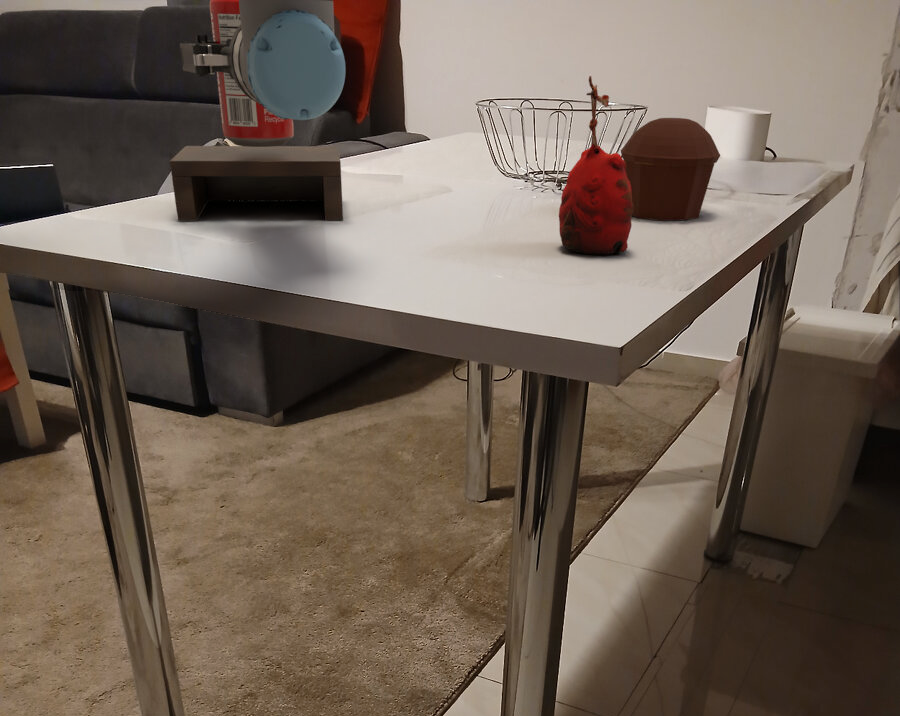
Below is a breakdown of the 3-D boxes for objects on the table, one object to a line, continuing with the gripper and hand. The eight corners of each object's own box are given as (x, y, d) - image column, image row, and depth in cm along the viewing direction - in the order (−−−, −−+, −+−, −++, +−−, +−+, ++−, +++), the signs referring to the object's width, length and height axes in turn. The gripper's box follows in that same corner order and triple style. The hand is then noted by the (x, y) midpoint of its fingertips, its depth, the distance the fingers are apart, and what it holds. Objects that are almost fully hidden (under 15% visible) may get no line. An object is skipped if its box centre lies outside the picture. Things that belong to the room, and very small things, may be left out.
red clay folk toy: (644, 253, 88) (666, 76, 80) (594, 261, 85) (612, 77, 77) (588, 239, 93) (604, 72, 85) (539, 247, 90) (550, 73, 82)
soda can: (226, 148, 97) (209, -20, 89) (221, 140, 104) (204, -17, 96) (299, 147, 99) (288, -17, 91) (289, 140, 106) (278, -15, 98)
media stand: (177, 221, 98) (169, 160, 95) (192, 200, 110) (185, 145, 107) (343, 220, 100) (340, 161, 97) (339, 199, 112) (337, 146, 109)
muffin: (692, 226, 101) (707, 125, 95) (600, 216, 105) (609, 119, 100) (721, 211, 109) (736, 118, 104) (634, 202, 114) (645, 113, 109)
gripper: (165, 110, 82) (156, 93, 100) (383, 108, 87) (337, 93, 105) (151, 11, 78) (145, 13, 96) (381, 15, 83) (333, 16, 101)
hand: (245, 55), depth 101 cm, fingers closed on soda can, 7 cm apart
